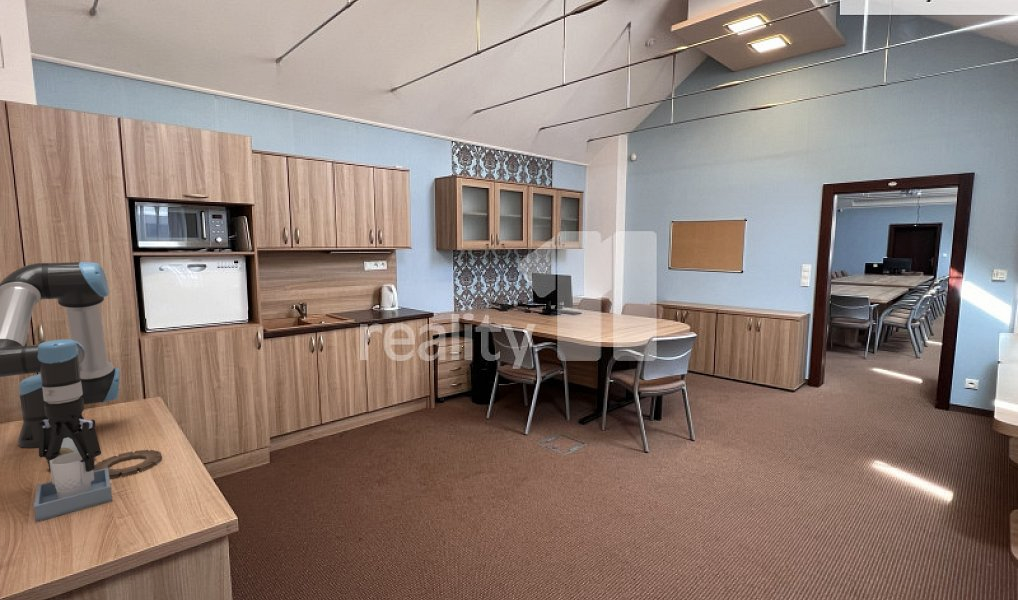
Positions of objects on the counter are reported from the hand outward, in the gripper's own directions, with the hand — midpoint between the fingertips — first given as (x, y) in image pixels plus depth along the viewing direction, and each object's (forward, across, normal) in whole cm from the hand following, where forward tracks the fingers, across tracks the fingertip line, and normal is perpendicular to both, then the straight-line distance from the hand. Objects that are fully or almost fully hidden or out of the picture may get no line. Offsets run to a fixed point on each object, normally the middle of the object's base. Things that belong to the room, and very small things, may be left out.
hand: (73, 481), depth 128 cm
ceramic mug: (+5, -21, +20) cm, 30 cm away
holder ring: (+5, -3, +20) cm, 21 cm away
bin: (+5, 0, 0) cm, 5 cm away
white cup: (+3, 0, 0) cm, 3 cm away
